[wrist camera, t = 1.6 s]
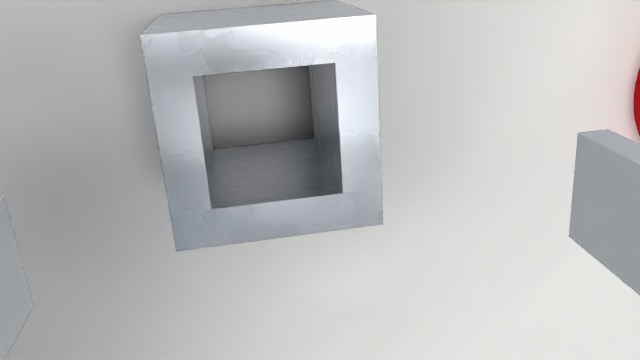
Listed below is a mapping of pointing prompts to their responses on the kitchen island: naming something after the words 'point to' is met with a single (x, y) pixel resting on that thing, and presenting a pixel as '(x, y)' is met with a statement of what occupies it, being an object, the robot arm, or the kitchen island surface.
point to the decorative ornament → (637, 102)
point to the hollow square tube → (270, 158)
